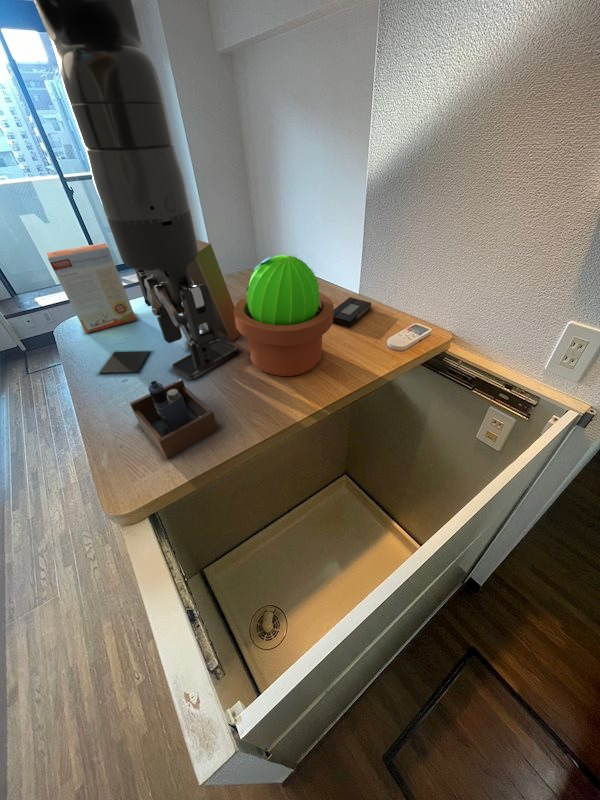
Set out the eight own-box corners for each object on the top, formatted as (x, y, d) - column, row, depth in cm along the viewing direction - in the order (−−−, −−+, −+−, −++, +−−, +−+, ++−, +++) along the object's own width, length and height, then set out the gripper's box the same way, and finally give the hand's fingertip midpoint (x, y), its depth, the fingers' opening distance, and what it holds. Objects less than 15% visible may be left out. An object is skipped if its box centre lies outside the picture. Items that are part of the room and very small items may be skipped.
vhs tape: (370, 308, 102) (371, 302, 100) (349, 327, 93) (350, 321, 92) (349, 303, 105) (349, 297, 104) (326, 320, 96) (327, 314, 95)
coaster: (100, 373, 78) (99, 372, 77) (115, 353, 84) (114, 351, 84) (137, 373, 78) (137, 371, 77) (150, 352, 84) (149, 351, 84)
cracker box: (132, 313, 102) (105, 241, 88) (137, 321, 98) (109, 247, 84) (83, 325, 96) (45, 250, 82) (85, 334, 92) (46, 257, 78)
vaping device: (163, 432, 63) (142, 383, 55) (185, 416, 66) (168, 368, 58) (171, 438, 62) (151, 389, 54) (193, 422, 65) (177, 374, 57)
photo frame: (195, 312, 101) (174, 223, 85) (244, 334, 91) (230, 237, 74) (153, 331, 93) (120, 236, 76) (201, 358, 82) (174, 254, 66)
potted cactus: (345, 349, 84) (354, 246, 68) (298, 395, 71) (296, 281, 54) (276, 327, 94) (270, 232, 77) (224, 364, 80) (202, 258, 63)
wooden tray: (217, 428, 63) (211, 406, 59) (167, 458, 58) (156, 436, 54) (188, 400, 70) (181, 378, 66) (140, 425, 64) (129, 402, 60)
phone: (238, 348, 83) (190, 376, 74) (239, 352, 84) (191, 380, 75) (217, 339, 87) (169, 364, 78) (218, 342, 87) (171, 368, 79)
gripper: (83, 202, 33) (138, 342, 43) (136, 229, 25) (187, 392, 35) (156, 192, 36) (189, 323, 47) (222, 213, 28) (244, 366, 39)
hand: (188, 353), depth 41 cm, fingers open, 8 cm apart
